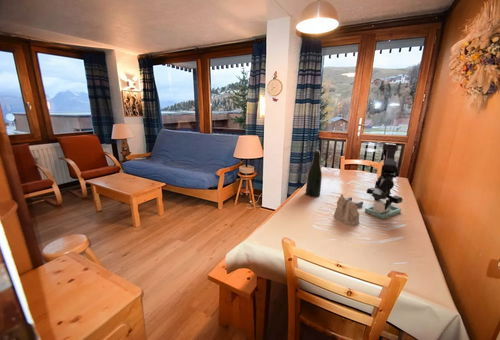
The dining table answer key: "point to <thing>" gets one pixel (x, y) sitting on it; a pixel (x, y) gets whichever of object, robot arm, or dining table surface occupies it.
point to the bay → (355, 203)
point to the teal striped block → (380, 206)
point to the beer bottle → (314, 176)
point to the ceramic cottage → (347, 212)
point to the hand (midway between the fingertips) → (381, 208)
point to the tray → (390, 212)
